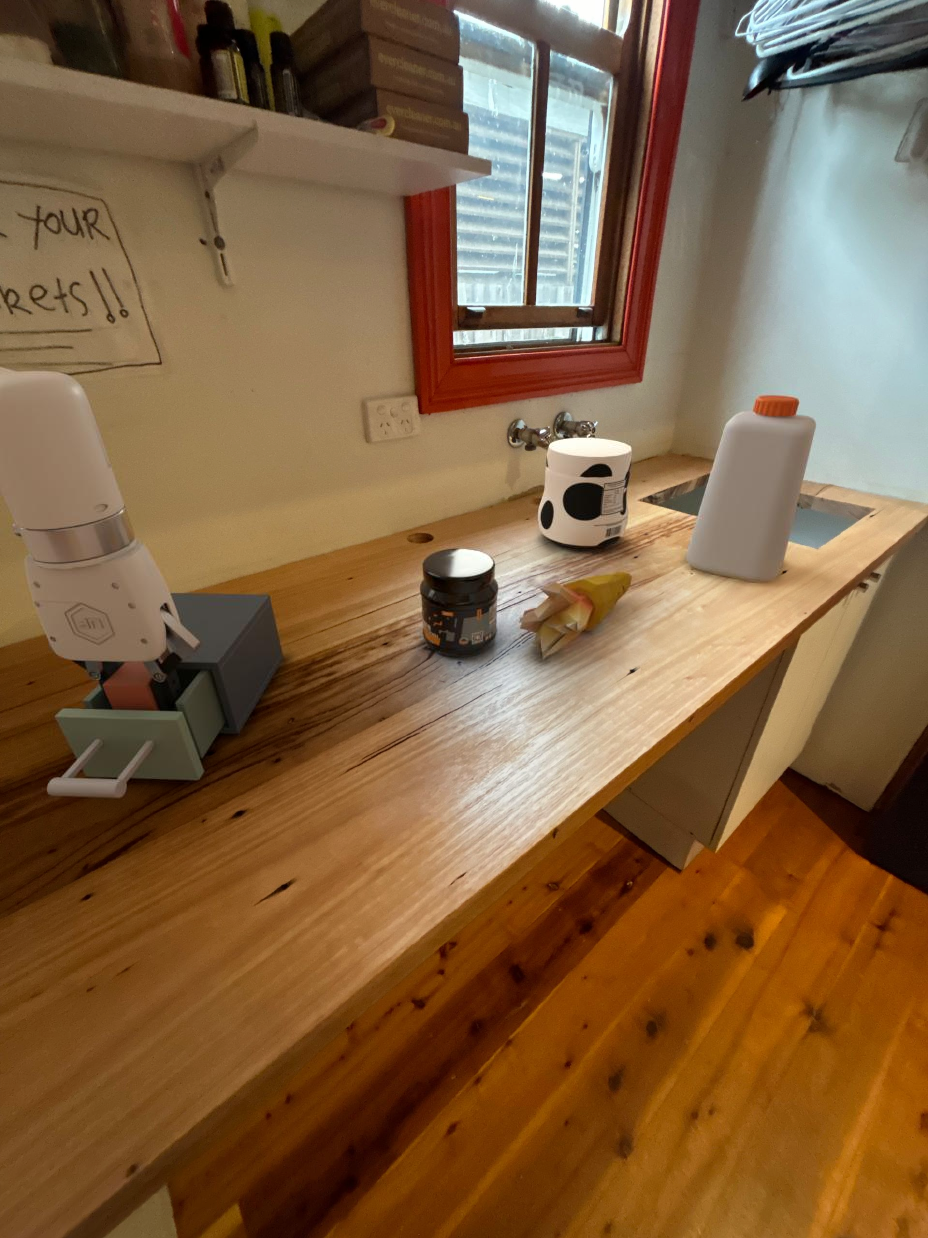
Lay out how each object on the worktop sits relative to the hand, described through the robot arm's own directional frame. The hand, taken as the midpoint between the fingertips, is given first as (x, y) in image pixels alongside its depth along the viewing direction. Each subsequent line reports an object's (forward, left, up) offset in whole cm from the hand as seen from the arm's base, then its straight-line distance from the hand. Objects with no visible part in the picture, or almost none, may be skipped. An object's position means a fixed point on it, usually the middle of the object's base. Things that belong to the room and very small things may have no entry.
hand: (148, 703), depth 54 cm
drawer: (0, -1, -6) cm, 6 cm away
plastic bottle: (+78, +50, -7) cm, 93 cm away
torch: (+48, +27, -7) cm, 56 cm away
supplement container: (+30, +23, -7) cm, 39 cm away
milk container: (+52, +61, -7) cm, 81 cm away
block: (0, 0, 0) cm, 0 cm away
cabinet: (0, +10, -7) cm, 13 cm away
